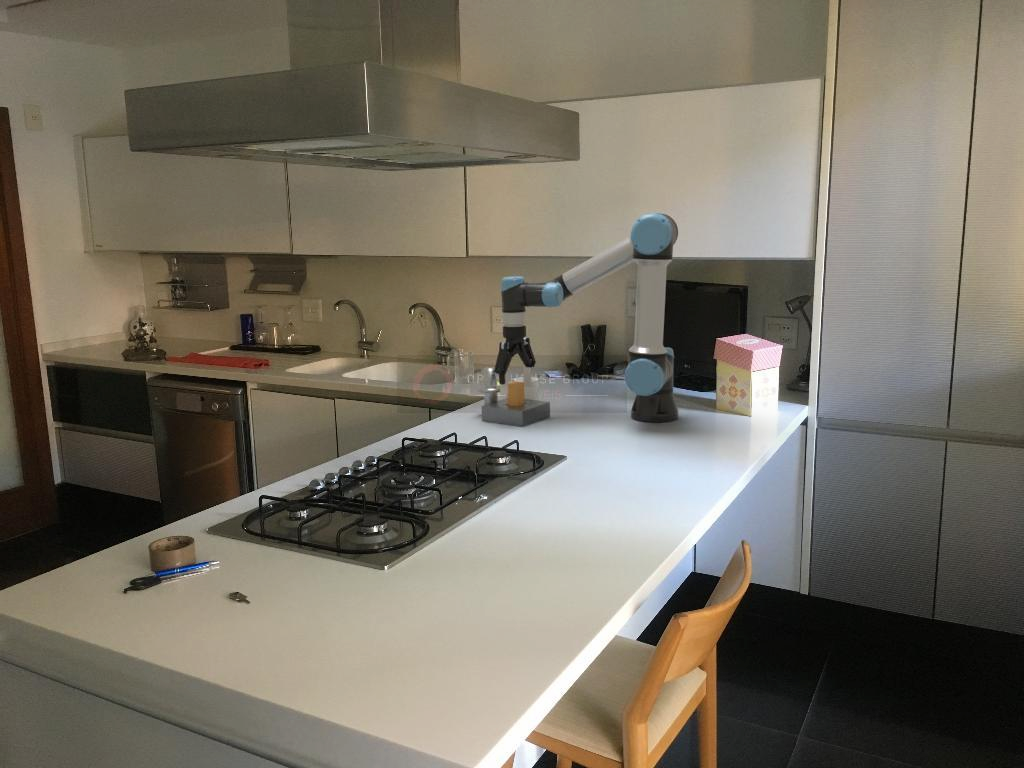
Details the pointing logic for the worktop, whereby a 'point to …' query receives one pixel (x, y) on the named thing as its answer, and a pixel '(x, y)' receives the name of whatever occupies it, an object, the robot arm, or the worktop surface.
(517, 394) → the tall orange block
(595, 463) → the worktop surface
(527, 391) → the cup
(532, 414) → the grey peg stand
